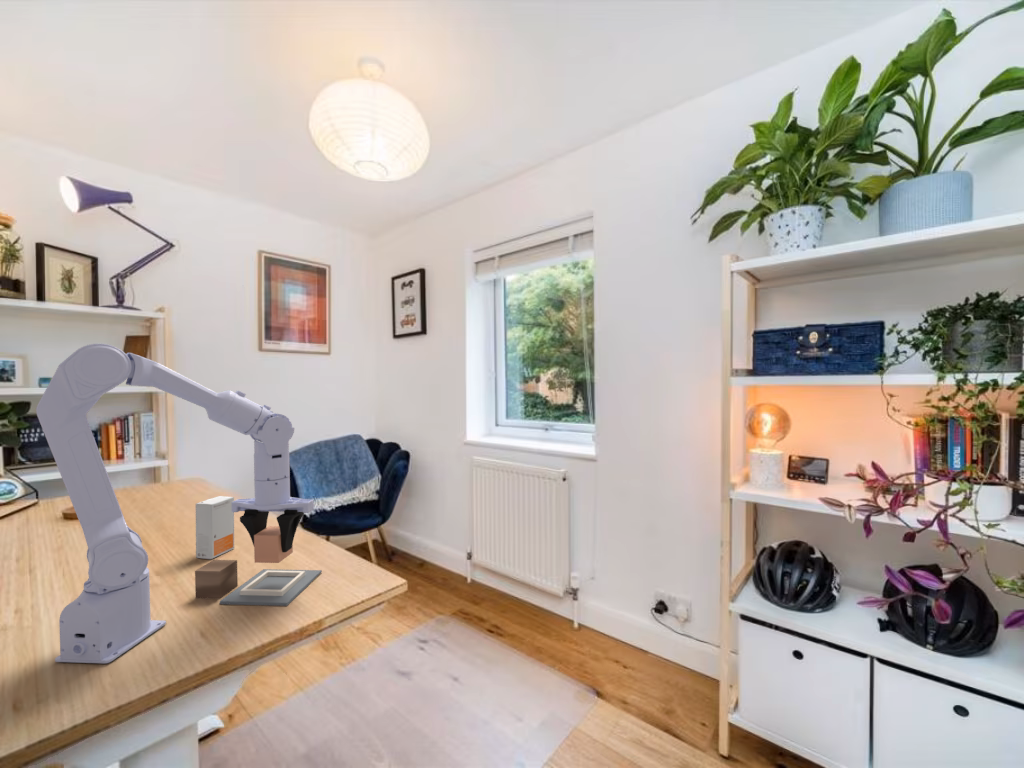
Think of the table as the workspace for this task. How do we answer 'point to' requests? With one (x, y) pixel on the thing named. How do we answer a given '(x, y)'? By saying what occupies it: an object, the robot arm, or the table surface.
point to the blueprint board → (272, 587)
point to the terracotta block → (269, 546)
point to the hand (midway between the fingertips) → (273, 549)
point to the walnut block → (216, 579)
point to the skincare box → (214, 527)
